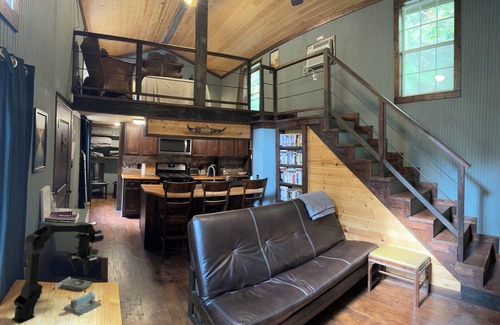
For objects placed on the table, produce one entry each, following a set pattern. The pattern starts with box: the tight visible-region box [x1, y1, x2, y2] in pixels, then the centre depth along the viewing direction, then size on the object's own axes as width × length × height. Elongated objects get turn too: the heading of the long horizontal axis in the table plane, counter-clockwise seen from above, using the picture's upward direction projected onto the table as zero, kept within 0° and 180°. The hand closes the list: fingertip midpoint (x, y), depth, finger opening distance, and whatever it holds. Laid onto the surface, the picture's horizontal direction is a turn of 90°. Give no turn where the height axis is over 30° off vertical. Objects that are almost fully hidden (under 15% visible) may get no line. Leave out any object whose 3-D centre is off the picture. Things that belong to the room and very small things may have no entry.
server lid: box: [64, 299, 102, 316], centre depth 150 cm, size 12×12×2 cm
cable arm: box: [70, 290, 97, 309], centre depth 150 cm, size 13×3×4 cm, turn 158°
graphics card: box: [54, 276, 93, 291], centre depth 170 cm, size 17×4×12 cm
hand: (80, 272), depth 159 cm, fingers open, 9 cm apart
